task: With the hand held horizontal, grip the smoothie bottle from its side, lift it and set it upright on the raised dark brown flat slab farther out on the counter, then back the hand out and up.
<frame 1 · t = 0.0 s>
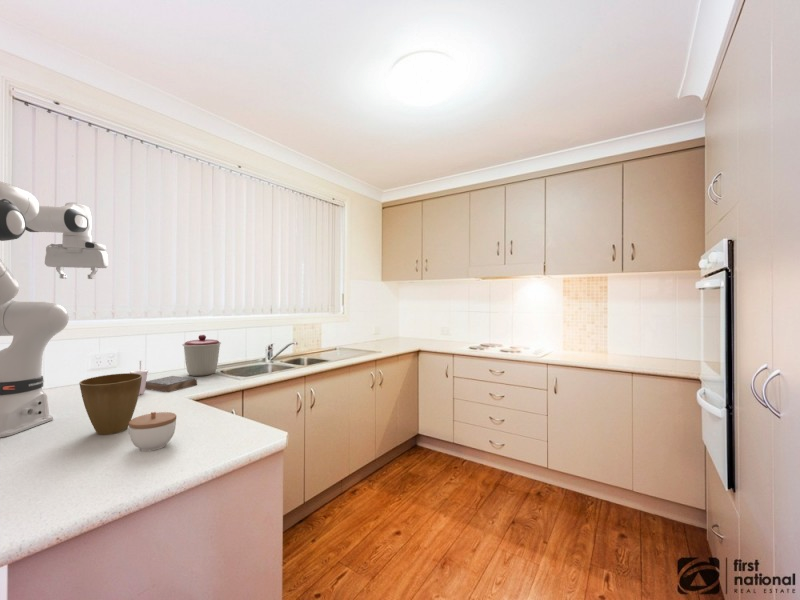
hand: (77, 278, 146), 48 cm above the countertop, tool pointing down, fingers open, 8 cm apart
plant pot: (111, 431, 110), on the countertop
canister: (202, 374, 192), on the countertop
dark brown flat slab: (170, 386, 165), on the countertop
smoothie: (138, 394, 152), on the countertop
lidded jar: (153, 447, 98), on the countertop
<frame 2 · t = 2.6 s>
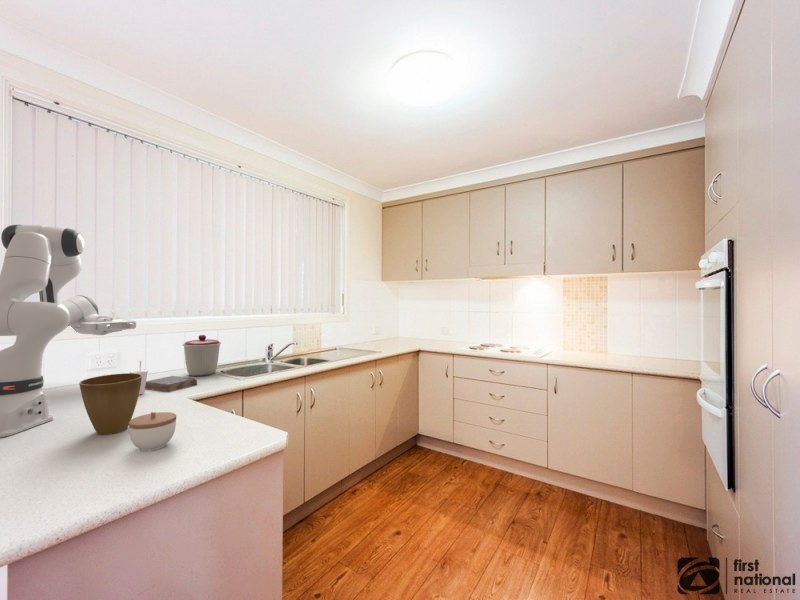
hand: (120, 326, 156), 28 cm above the countertop, tool horizontal, fingers open, 8 cm apart
nothing on the countertop moved.
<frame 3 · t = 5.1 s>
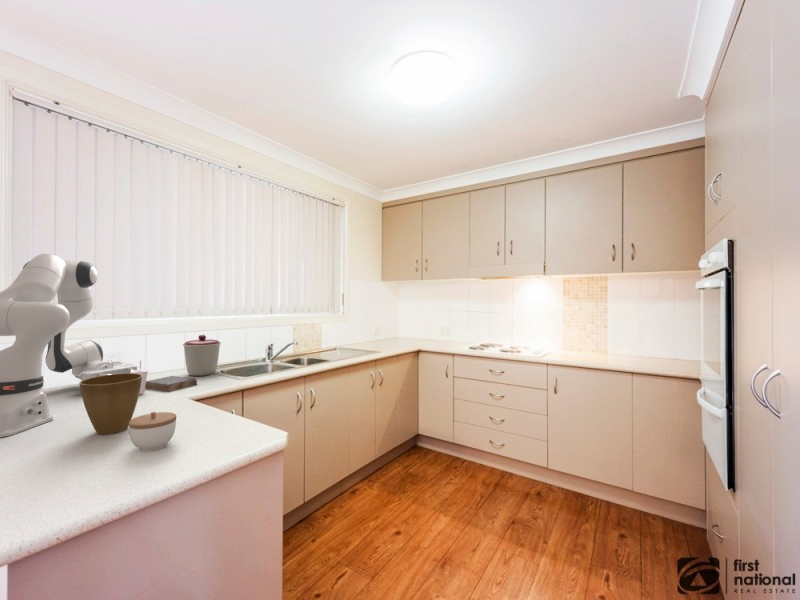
hand: (121, 374, 156), 7 cm above the countertop, tool horizontal, fingers open, 8 cm apart
nothing on the countertop moved.
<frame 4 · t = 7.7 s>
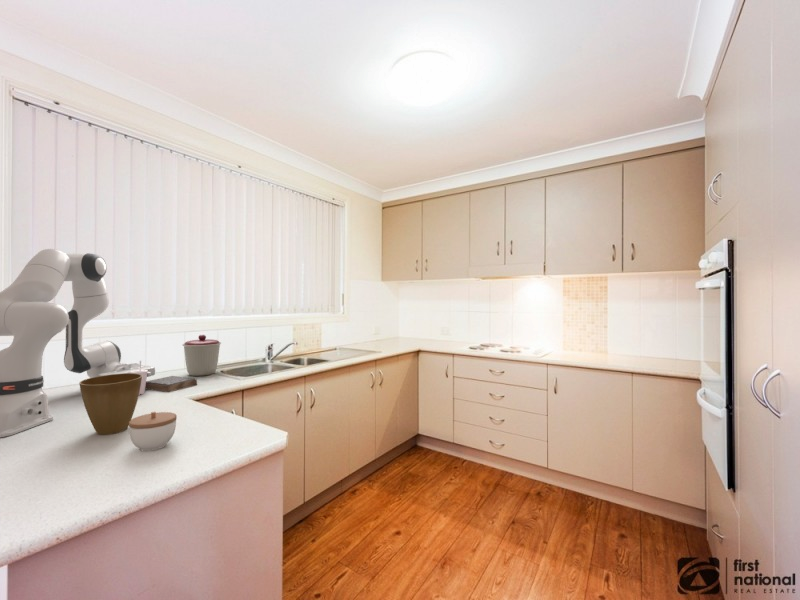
hand: (140, 376, 151), 8 cm above the countertop, tool horizontal, fingers closed on smoothie, 6 cm apart
smoothie: (138, 394, 152), on the countertop, touching gripper
everything else where it was.
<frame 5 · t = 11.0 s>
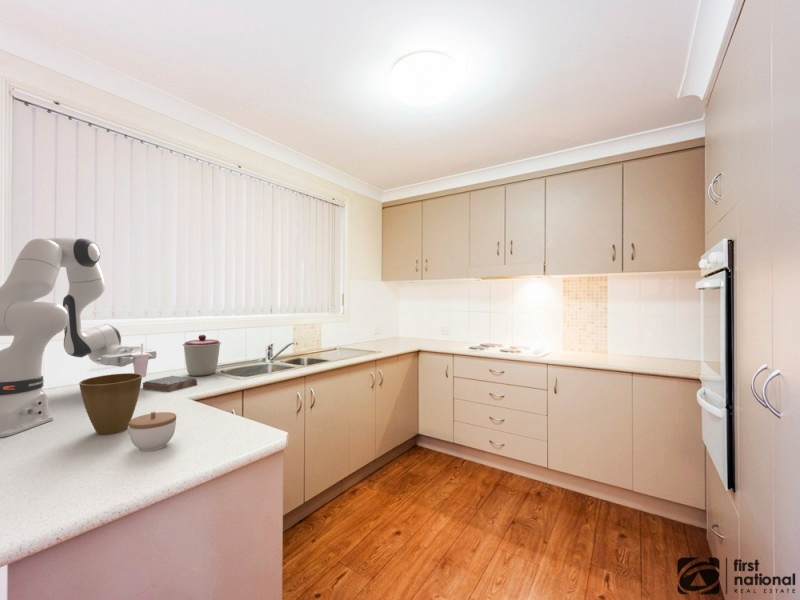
hand: (141, 358, 152), 15 cm above the countertop, tool horizontal, fingers closed on smoothie, 6 cm apart
smoothie: (140, 377, 152), point 7 cm above the countertop, touching gripper
everything else where it was.
when the fingers open (12 cm above the countertop, at t = 14.5 s): smoothie moves 2 cm, resting on dark brown flat slab.
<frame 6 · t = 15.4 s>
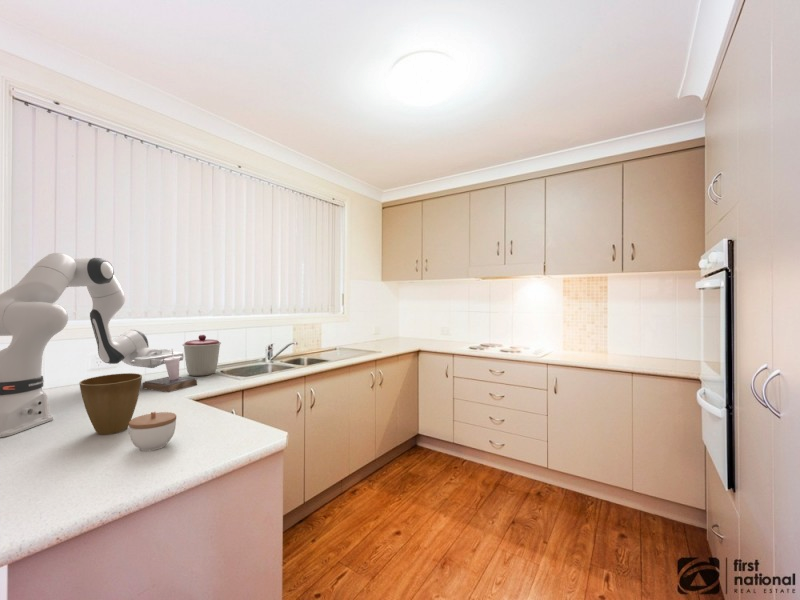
hand: (171, 360, 165), 12 cm above the countertop, tool horizontal, fingers open, 8 cm apart
smoothie: (174, 379, 167), point 3 cm above the countertop, touching dark brown flat slab, gripper
everything else where it was.
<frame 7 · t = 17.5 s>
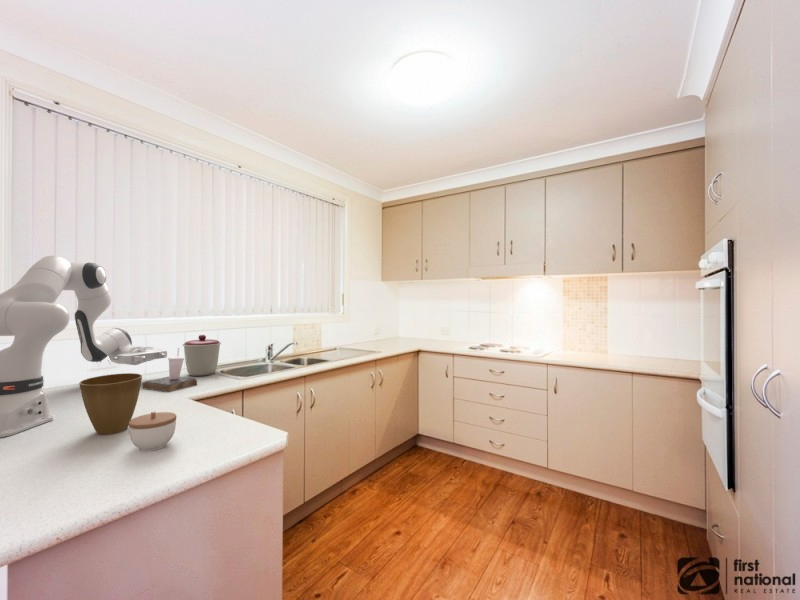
hand: (154, 357, 167), 13 cm above the countertop, tool horizontal, fingers open, 8 cm apart
smoothie: (174, 379, 167), point 3 cm above the countertop, touching dark brown flat slab
everything else where it was.
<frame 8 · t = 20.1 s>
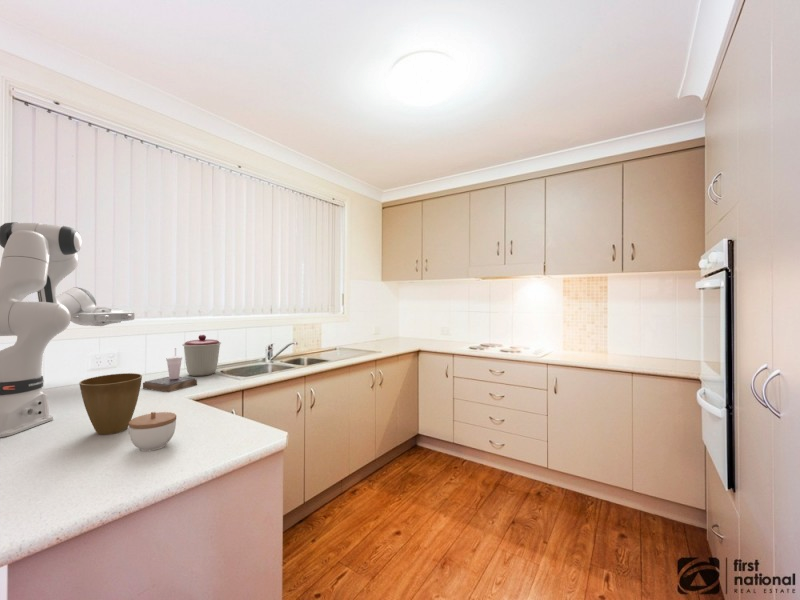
hand: (119, 317, 157), 32 cm above the countertop, tool horizontal, fingers open, 8 cm apart
at the end: smoothie inside the target area on the dark brown flat slab (1.9 cm from its centre), point 2.9 cm above the dark brown flat slab's base; smoothie tilted 2°; the gripper is holding nothing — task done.
